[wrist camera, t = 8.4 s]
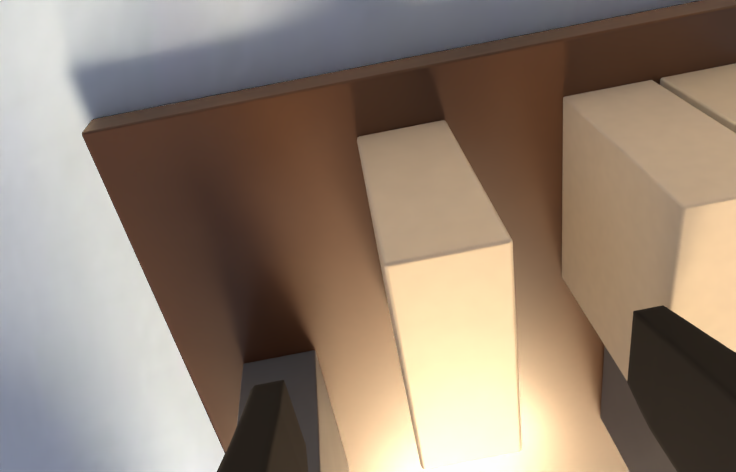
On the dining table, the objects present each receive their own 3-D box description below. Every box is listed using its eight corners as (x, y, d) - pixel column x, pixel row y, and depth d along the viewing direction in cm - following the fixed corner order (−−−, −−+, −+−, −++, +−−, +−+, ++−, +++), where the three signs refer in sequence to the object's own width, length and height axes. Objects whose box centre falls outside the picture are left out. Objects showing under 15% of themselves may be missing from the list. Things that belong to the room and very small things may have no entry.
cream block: (561, 277, 19) (655, 427, 14) (562, 96, 16) (683, 207, 11) (717, 247, 19) (866, 386, 14) (749, 59, 16) (956, 154, 11)
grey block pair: (286, 477, 23) (283, 652, 18) (242, 363, 20) (224, 536, 15) (662, 405, 23) (764, 560, 18) (679, 278, 20) (810, 424, 15)
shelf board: (269, 530, 26) (268, 553, 26) (91, 118, 16) (79, 133, 15) (682, 451, 26) (694, 471, 26) (761, -13, 16) (787, -5, 15)
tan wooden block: (389, 309, 19) (421, 471, 14) (355, 135, 16) (383, 264, 11) (463, 295, 19) (523, 452, 14) (445, 118, 16) (513, 239, 11)
